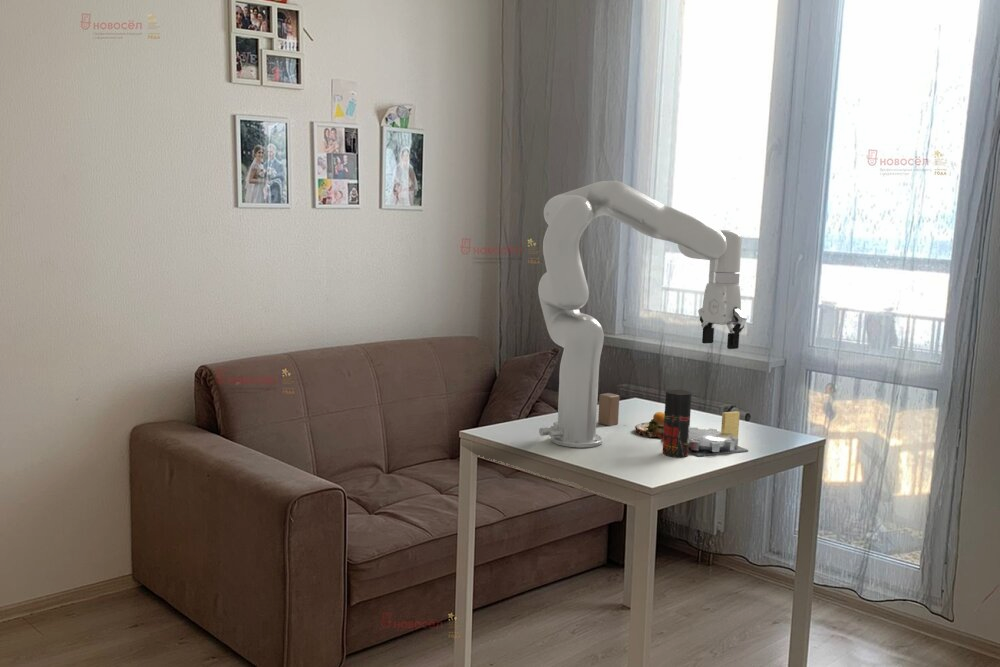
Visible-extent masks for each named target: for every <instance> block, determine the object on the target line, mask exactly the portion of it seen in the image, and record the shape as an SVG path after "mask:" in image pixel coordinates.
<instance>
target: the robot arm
mask: <svg viewBox="0 0 1000 667" xmlns="http://www.w3.org/2000/svg"><path fill="white" fill-rule="evenodd" d="M601 216H608V217H610V218H612V219H613V220H616V221H618V222H620V223H622V224H624V225H626V226H628V227H630V228H631V229H634V230H635V231H637V232H639V233H641V234H642V235H645V236H647V237H651V238H653V239H656V240H657V239H658V240H662V241H666V242H667V241H668V242H670V243H673V244H676V245H677V246H678V250H679V252H680V253H681V254H682V255H683V256H685V257H687V258H689V259H690V258H691V259H694V260H695V259H697V260H704V261H709V271H708V283H706V286H705V288H704V293H703V300H702V307H701V308H699V309H698V311H697V313H698V315H699V321H700V324H701V328H702V340H701V343H702V344H713V343H714V334H715V328H714V327H713V326H714V325H721V326H725V325H726V326H727V329H728V331H729V332H728V333H727V341H726V342H727V343H726V344H727V345H726V348H727V349H728V350H736V349H737V350H738V349H739V343H740V334H741V333H742V331H743V329H744V328H745V324H746V323H747V320H748V318H747V316H746V315H745V314H744V313H743V312H742V311H741V310H742V308H741V307H742V306H741V305H742V301H741V300H742V299H741V298H742V296H741V288H740V287H741V286H740V275H741V274H740V273H741V272H740V271H741V256H742V243H743V242H742V241H743V240H742V238H743V237H742V236H743V235H742V233H741V231H738V230H732V229H717V228H715V227H714V226H712V225H710V224H708V223H707V222H704V221H702V220H701V219H699V218H696V217H694V216H692V215H690V214H687V213H684V212H682V211H679V210H678V209H675V208H673V207H671V206H668V205H666V204H664V203H661V202H660V201H658V200H656V199H654V198H652V197H650V196H648V195H646V194H644V193H643V192H641V191H640V190H637V189H636V188H634V187H632V186H630V185H629V184H626V183H624V182H622V181H619V180H603V181H602V180H601V181H597V182H594V183H590V184H587V185H585V186H582V187H579V188H576V189H572V190H569V191H566V192H563V193H559V194H557V195H555V196H553V197H551V198H550V199H549V200H548V201H547V202H546V203H545V205H544V208H543V218H544V220H545V223H547V225H548V226H547V228H546V231H545V234H544V237H543V239H542V240H543V243H542V254H543V258H544V264H545V268H546V272H545V273H543V274H542V276H541V278H540V279H539V283H538V288H537V291H538V298H539V302H540V307H541V311H542V314H543V315H542V316H543V318H544V322H545V325H546V329H547V332H548V334H549V337H550V339H551V340H552V342H554V343H555V344H556V345H557V346H559V347H562V348H563V352H562V356H561V360H560V362H559V363H560V364H559V376H558V378H559V381H558V382H559V384H558V402H557V405H558V406H557V421H556V422H553V425H551V426H550V427H540V428H539V430H538V433H539V435H540V436H541V437H543V436H545V437H546V436H549V437H550V441H551V442H552V443H553V444H555V445H559V446H563V447H568V448H592V447H594V448H595V447H598V446H600V445H601V444H602V443H603V438H602V437H601V435H599V434H597V421H598V419H597V418H598V417H597V416H598V399H599V398H598V397H599V396H598V394H599V377H600V376H599V374H600V361H601V355H602V350H603V346H604V340H605V337H604V336H605V334H604V330H603V327H602V324H600V322H599V321H598V320H597V319H596V318H595V317H593V316H591V315H590V314H586V313H583V312H581V311H580V309H581V308H583V307H585V305H586V304H587V302H588V300H589V296H590V291H589V285H588V282H587V279H586V275H585V271H584V267H583V262H582V257H581V253H580V241H581V237H582V236H583V233H584V231H585V230H586V229H587V227H588V226H589V225H590V223H591V221H592V220H594V219H595V218H599V217H601Z"/></svg>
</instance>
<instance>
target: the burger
mask: <svg viewBox="0 0 1000 667" xmlns="http://www.w3.org/2000/svg"><path fill="white" fill-rule="evenodd" d="M664 416H665V411H664V412H662V411H658V412H655V413H653V417H652V419H651V420H650V421H648V422H641V423H639V424H636V425H635V426H634V428H635V434H636V435H639V436H640V435H641V434H642V436H643V437H645V438H652V437H653V438H655V437H657V438H658V439H660V440H663V434H664Z"/></svg>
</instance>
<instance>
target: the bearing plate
mask: <svg viewBox="0 0 1000 667" xmlns="http://www.w3.org/2000/svg"><path fill="white" fill-rule="evenodd" d="M660 442H661V443H663V439H660ZM745 452H746V453H748V452H749V449H747V448H744V447H741V446H739V445H738V447H734V450H731V451H729V450H725V449H723V450H719V452H712V451H710V450H701V449H700V450H698V451H696V450H691V448H689V447H688V454H690V455H692V456H695V457H697V458H701V457H709V456H718V455H719V456H720V455H727V454H728V455H729V454H738V453H745Z"/></svg>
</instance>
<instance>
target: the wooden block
mask: <svg viewBox="0 0 1000 667" xmlns="http://www.w3.org/2000/svg"><path fill="white" fill-rule="evenodd" d="M598 397H599V398H598V399H599V401H598V413H597V416H598V417H597V418H598V419H597V422H598V424H600V425H604V426H607V427H609V426H617V425H618V424H619V413H620V412H619V411H620V395H619V394H615V393H612V392H607V393H600V394H599V396H598Z"/></svg>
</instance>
